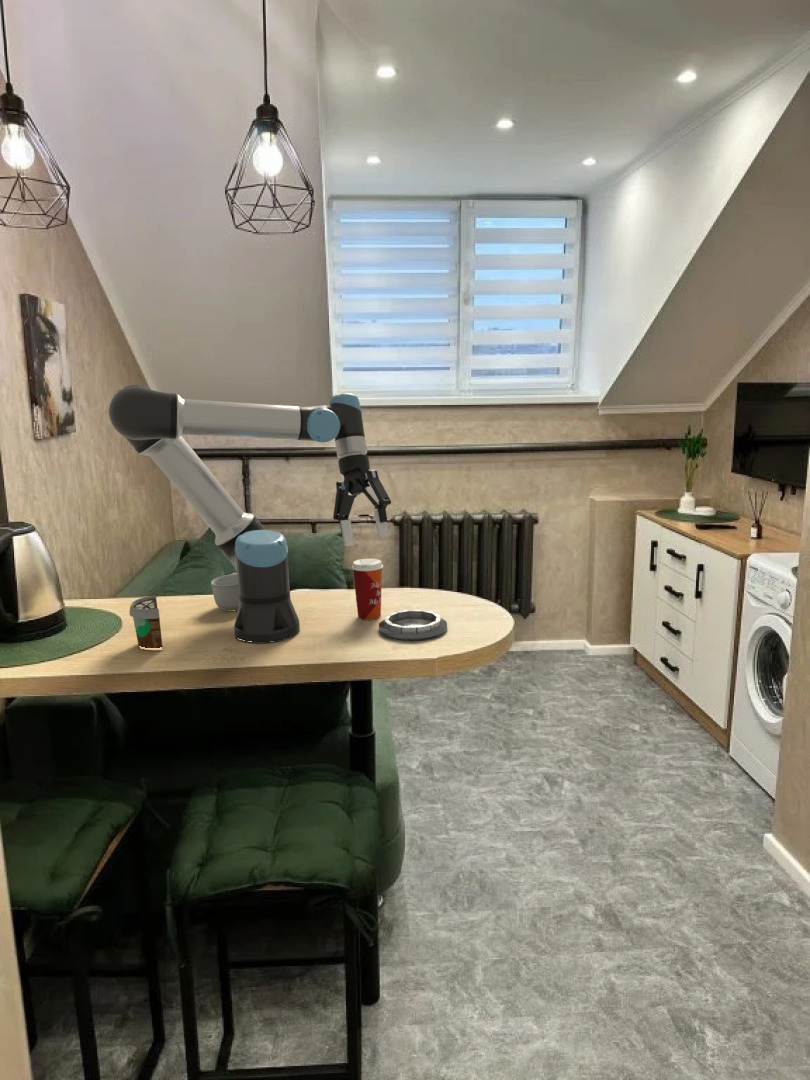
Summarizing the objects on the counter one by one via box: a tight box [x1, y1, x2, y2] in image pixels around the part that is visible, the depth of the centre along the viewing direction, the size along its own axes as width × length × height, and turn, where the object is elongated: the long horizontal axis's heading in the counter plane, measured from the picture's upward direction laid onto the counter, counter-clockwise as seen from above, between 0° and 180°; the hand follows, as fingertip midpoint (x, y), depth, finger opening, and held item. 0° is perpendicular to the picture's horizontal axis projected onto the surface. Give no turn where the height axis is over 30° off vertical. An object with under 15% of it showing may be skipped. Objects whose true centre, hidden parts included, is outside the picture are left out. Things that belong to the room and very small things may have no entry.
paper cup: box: [351, 558, 384, 621], centre depth 185 cm, size 8×8×14 cm
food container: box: [129, 594, 163, 648], centre depth 170 cm, size 12×6×10 cm, turn 21°
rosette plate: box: [378, 609, 448, 642], centre depth 176 cm, size 16×16×3 cm
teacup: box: [210, 572, 240, 611], centre depth 197 cm, size 14×11×8 cm
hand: (365, 541), depth 184 cm, fingers open, 13 cm apart
